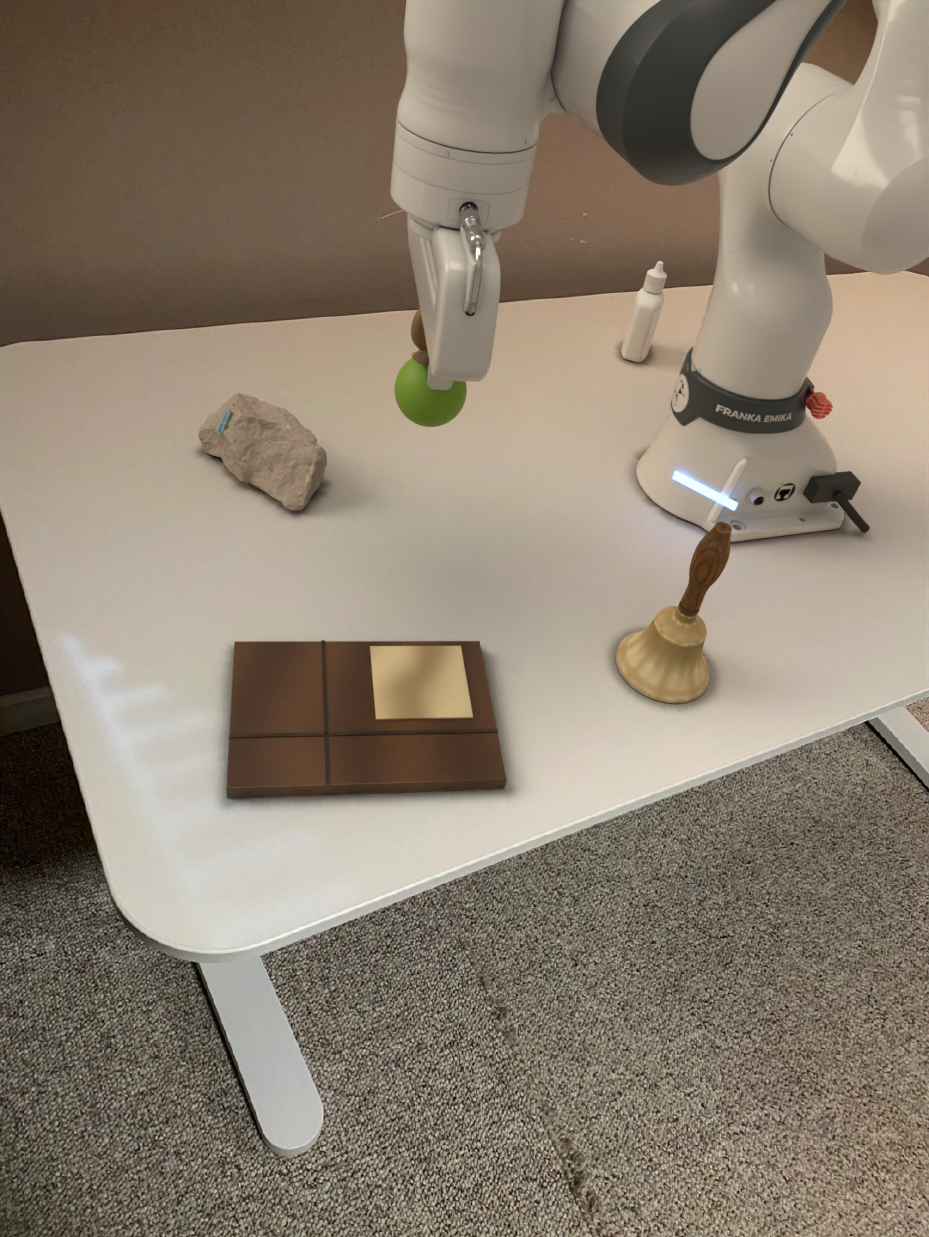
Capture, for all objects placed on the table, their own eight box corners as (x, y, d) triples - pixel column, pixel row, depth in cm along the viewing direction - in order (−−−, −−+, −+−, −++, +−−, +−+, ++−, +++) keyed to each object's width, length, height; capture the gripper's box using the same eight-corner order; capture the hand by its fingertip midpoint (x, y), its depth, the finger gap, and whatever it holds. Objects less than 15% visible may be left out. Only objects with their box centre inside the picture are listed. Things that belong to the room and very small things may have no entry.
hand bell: (724, 700, 79) (797, 559, 67) (633, 707, 77) (693, 564, 65) (688, 629, 84) (750, 488, 73) (602, 634, 82) (653, 490, 71)
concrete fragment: (283, 521, 87) (283, 468, 83) (191, 450, 93) (187, 397, 88) (339, 492, 91) (342, 441, 87) (248, 426, 97) (247, 375, 93)
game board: (477, 650, 79) (480, 639, 78) (504, 789, 69) (507, 778, 68) (235, 651, 75) (234, 639, 74) (227, 798, 65) (226, 786, 64)
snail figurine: (484, 421, 73) (510, 274, 65) (427, 449, 69) (448, 297, 61) (434, 390, 75) (453, 244, 67) (376, 416, 71) (390, 264, 63)
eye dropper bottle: (660, 354, 120) (688, 264, 112) (634, 366, 117) (660, 274, 109) (634, 339, 122) (660, 250, 114) (607, 350, 119) (632, 259, 111)
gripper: (537, 251, 52) (497, 454, 62) (488, 126, 67) (461, 307, 76) (427, 241, 51) (403, 449, 61) (400, 116, 65) (384, 301, 75)
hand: (435, 369), depth 69 cm, fingers closed on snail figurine, 3 cm apart
